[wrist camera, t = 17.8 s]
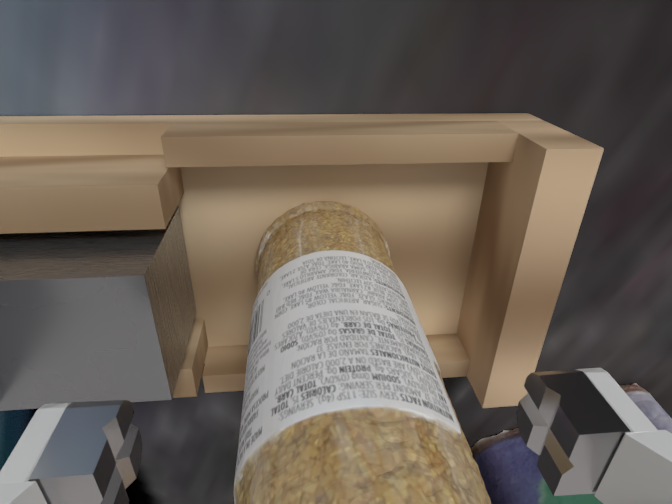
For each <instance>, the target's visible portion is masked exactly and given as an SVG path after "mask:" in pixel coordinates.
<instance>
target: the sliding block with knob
mask: <svg viewBox="0 0 672 504" xmlns="http://www.w3.org/2000/svg"><path fill="white" fill-rule="evenodd" d="M195 315H196V306H195V300H194V294H193V288H192V282H191V276H190V270H189V264H188V258H187V252H186V246H185V240H184V234H183V228H182V222H181V216H180V210H179V206H177V208H176V210H175V212H174V214H173V216H172V218H171V219H170V221H169V223H168V225H167V227H166V229H147V230H112V231H78V232H44V233H10V234H0V411H6V410H21V409H37V408H40V407H41V406H43V405H44V404H50V403H72V402H87V401H111V400H128V401H130V402H144V401H160V400H172V398H173V394H174V390H175V387H176V383H177V380H178V376H179V372H180V369H181V365H182V362H183V358H184V355H185V351H186V347H187V344H188V340H189V337H190V333H191V330H192V326H193V322H194V319H195Z"/></svg>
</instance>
